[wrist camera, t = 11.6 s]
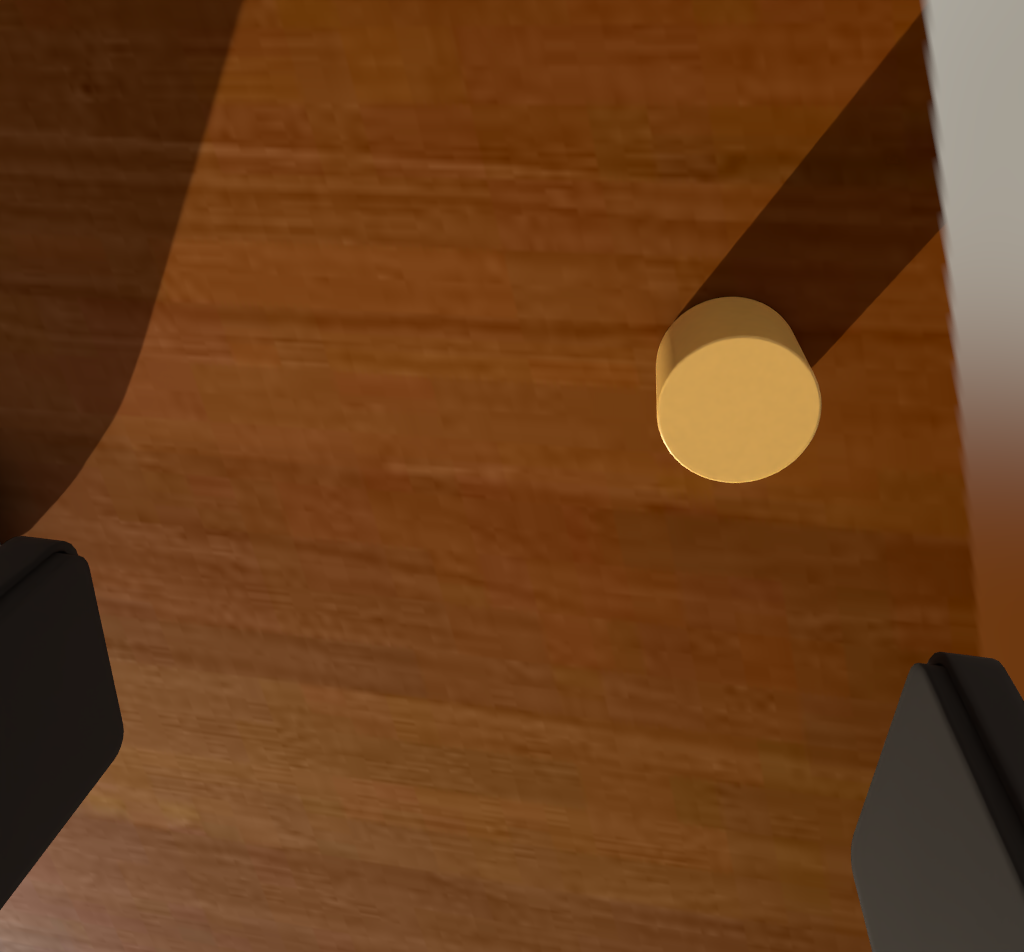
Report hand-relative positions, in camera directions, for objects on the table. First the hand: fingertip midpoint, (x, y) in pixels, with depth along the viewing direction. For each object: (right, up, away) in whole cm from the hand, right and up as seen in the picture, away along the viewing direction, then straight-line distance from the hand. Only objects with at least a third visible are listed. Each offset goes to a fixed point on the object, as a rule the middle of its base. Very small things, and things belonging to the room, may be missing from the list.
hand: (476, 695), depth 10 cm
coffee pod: (+7, +6, +17) cm, 19 cm away
